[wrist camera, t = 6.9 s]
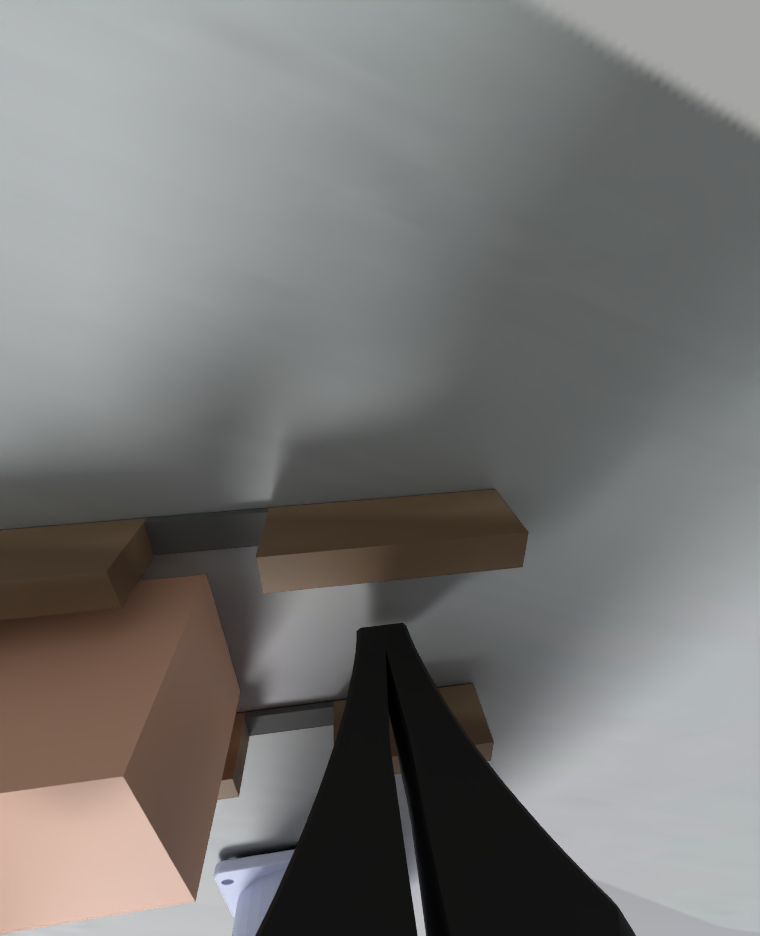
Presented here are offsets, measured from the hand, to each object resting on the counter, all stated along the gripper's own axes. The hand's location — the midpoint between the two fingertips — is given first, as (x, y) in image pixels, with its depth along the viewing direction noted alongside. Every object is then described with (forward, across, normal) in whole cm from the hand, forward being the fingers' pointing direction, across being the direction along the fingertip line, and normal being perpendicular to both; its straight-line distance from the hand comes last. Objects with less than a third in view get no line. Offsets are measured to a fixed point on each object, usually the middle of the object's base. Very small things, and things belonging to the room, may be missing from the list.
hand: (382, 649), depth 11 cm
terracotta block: (+1, +7, 0) cm, 7 cm away
